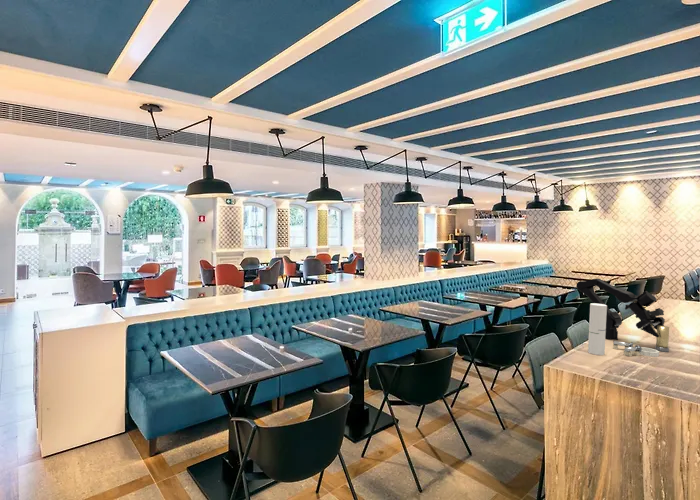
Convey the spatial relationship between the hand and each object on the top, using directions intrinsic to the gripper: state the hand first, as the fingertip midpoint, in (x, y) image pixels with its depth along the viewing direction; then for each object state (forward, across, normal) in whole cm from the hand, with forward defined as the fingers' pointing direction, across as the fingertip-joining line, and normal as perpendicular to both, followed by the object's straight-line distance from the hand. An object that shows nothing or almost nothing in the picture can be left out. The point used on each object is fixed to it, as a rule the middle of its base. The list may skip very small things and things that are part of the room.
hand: (662, 336), depth 203 cm
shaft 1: (-2, -18, +12) cm, 22 cm away
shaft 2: (+4, -24, +7) cm, 26 cm away
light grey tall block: (-3, -38, +14) cm, 41 cm away
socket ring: (+5, -14, +6) cm, 16 cm away
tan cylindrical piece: (+5, 0, +6) cm, 8 cm away
